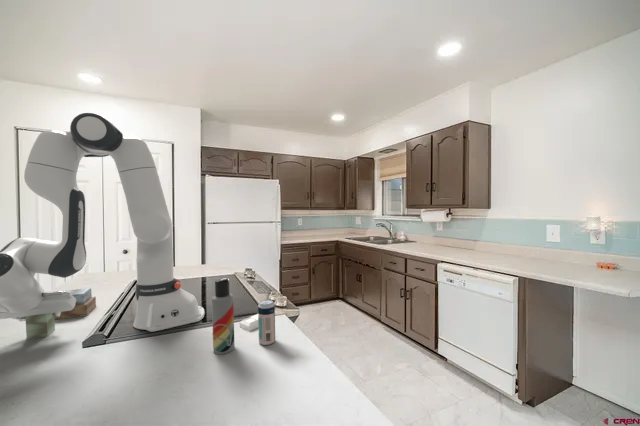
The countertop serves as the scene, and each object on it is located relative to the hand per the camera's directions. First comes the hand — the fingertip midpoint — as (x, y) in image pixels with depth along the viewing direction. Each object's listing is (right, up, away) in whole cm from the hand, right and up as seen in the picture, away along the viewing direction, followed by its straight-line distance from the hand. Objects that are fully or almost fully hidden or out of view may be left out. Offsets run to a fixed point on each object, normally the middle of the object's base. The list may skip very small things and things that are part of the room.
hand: (41, 316), depth 92 cm
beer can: (+74, -5, -7) cm, 74 cm away
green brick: (0, -5, 0) cm, 5 cm away
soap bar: (+67, -5, +5) cm, 68 cm away
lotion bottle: (+62, -5, -11) cm, 64 cm away
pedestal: (-4, -5, +17) cm, 18 cm away
